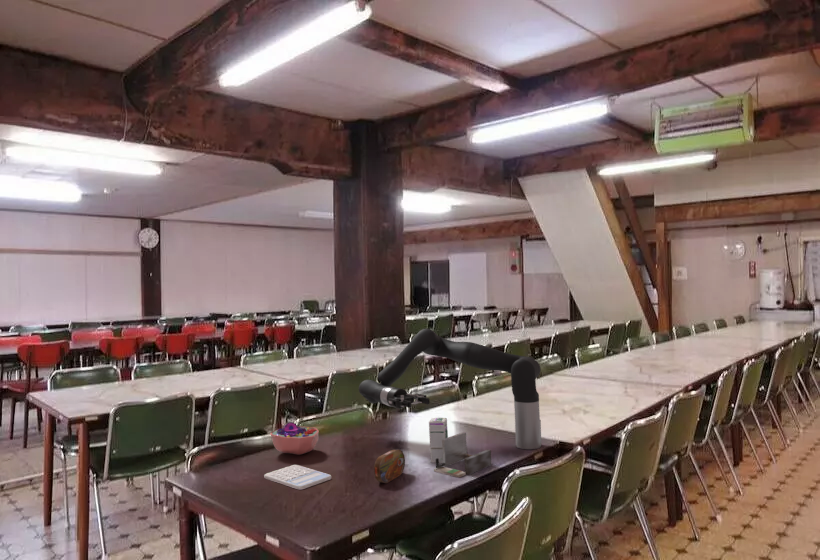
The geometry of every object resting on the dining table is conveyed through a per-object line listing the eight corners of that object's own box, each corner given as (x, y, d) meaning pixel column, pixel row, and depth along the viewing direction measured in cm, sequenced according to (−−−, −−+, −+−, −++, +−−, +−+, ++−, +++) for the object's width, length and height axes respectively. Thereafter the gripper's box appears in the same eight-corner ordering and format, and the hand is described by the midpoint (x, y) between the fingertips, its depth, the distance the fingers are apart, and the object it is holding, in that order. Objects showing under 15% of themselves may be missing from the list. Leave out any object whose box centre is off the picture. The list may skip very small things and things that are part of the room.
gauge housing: (466, 458, 203) (466, 444, 203) (493, 464, 195) (492, 449, 195) (433, 471, 190) (433, 456, 190) (461, 478, 182) (460, 462, 182)
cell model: (289, 464, 204) (288, 432, 204) (263, 453, 219) (262, 423, 219) (329, 453, 215) (328, 423, 215) (302, 444, 230) (301, 415, 230)
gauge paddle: (464, 457, 202) (463, 432, 202) (466, 458, 201) (466, 432, 201) (435, 469, 190) (434, 442, 190) (437, 469, 189) (436, 442, 189)
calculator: (295, 468, 200) (295, 463, 200) (333, 480, 186) (332, 474, 186) (262, 479, 190) (262, 473, 190) (299, 491, 176) (299, 485, 177)
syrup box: (446, 463, 198) (445, 421, 198) (430, 462, 199) (428, 421, 200) (449, 458, 204) (447, 417, 204) (432, 457, 205) (431, 417, 205)
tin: (381, 486, 177) (380, 459, 177) (372, 485, 179) (371, 458, 179) (406, 472, 190) (405, 447, 190) (398, 471, 192) (397, 445, 192)
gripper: (378, 389, 218) (404, 395, 206) (408, 385, 227) (434, 390, 214) (379, 409, 218) (404, 416, 205) (408, 403, 227) (435, 410, 214)
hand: (419, 403), depth 210 cm, fingers open, 8 cm apart
